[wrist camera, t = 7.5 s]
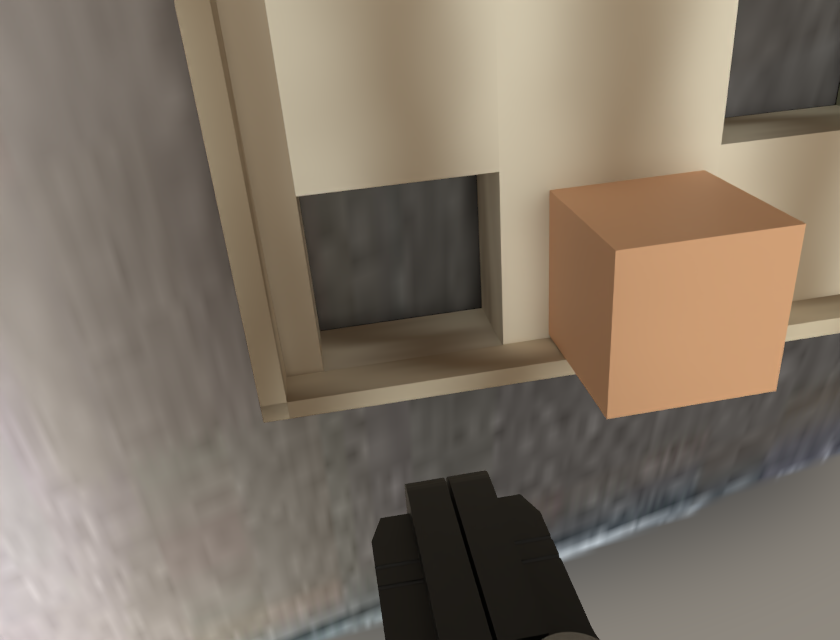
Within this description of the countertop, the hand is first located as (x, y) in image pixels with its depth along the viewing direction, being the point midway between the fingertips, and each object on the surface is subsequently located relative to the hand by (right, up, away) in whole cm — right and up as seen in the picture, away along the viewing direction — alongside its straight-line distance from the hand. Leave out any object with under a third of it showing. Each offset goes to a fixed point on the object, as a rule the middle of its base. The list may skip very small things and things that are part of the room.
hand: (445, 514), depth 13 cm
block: (+6, +6, +10) cm, 13 cm away
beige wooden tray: (+7, +10, +12) cm, 17 cm away
